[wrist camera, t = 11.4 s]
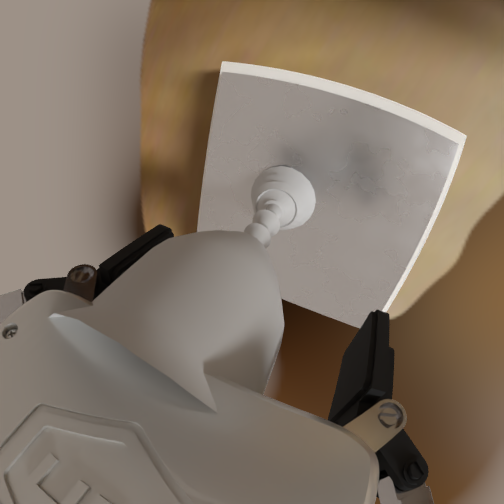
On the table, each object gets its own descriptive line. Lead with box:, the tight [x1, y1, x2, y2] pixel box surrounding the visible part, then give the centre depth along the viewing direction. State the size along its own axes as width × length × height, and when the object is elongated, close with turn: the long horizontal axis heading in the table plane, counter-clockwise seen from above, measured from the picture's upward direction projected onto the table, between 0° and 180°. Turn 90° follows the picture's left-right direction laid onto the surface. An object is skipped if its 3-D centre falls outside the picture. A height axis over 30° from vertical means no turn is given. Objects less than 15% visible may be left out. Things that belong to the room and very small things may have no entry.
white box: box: [199, 72, 459, 328], centre depth 24 cm, size 18×21×6 cm
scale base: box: [197, 61, 467, 312], centre depth 24 cm, size 20×21×6 cm
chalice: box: [49, 166, 316, 413], centre depth 14 cm, size 7×7×18 cm
